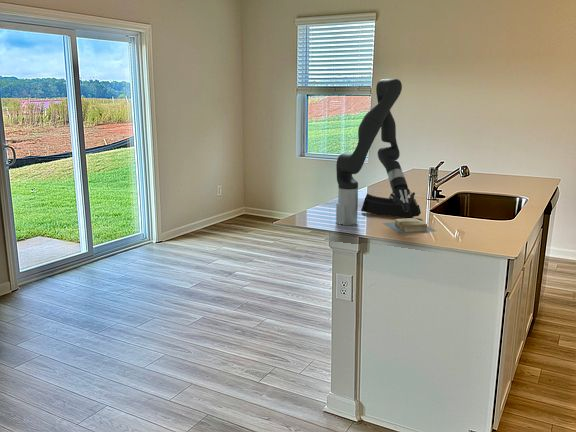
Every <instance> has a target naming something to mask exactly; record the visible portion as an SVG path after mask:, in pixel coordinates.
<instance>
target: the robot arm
mask: <svg viewBox="0 0 576 432" xmlns="http://www.w3.org/2000/svg"><path fill="white" fill-rule="evenodd" d="M375 87H376V89H375V90H376V91H375V92H376V98H377V99H376V100H377V104H376V105H375V106H373V107H372V108H371V109H370V110H369V111H367V113H366V114H365V115H364V116H363V118H362V120H361V122H360V123H359V126H358V131H357V132H358V133H357V136H358V138H357V139H358V141H357V145H356V146H355V149H354V151H353V153H345V152H344V153H341V154H339V155H338V157H337V159H336V164H335V167H336V168H335V169H336V171H335V172H336V181H337V186H338V193H337V194H338V195H337V196H338V197H337V198H338V199H337V201H338V202H337V203H336V209H335V211H336V212H335V215H336V216H335V223H336V224H338V223H340V224H339V225H341V224H343V225H342V226H355V225H357V224H358V206H359V205H358V201H359V198H358V197H359V183H358V180H356V179H355V178H354V177H353V175H357V174H358V173H359V172H360V171H361V170H362V169H363V166H364V164H365V161H366V158H367V156H368V154H369V151H370V149H371V147H372V145H373V142H374V140H375V138H376V136H377V135H378V134H379V132H381V133H380V138H381V141H382V142H383V143H387V144H390V146H383V147H380V148H378V151H377V158H378V160H379V161H380V163H381V164H382V166H383V167H384V168H385V171H386V174H387V178H388V183H389V186H390V189H391V191H392V192H391V193H390V195H389V196H388V198H390V199H391V200H393V201H394V202H395V203H396V204H398V205H399V204H400V205H402V208H403V210H404V211H405V212H408V211H409V210H410V207H409V204H410V203H411V201H412V199H413V197H414V198H415V195H416V192H411V190H410V189H409V186H408V182H407V180H406V176H405V174H404V172H403V171H402V170H403V169H402V167H401V165H400V162H399V161H398V159H399V158H400V154H401V153H400V149H399V145H398V142H397V138H396V137H397V132H396V131H397V130H396V129H397V127H396V126H397V125H396V121H395V119H394V116H393V114H392V112H391V109H392V108H393V106H394V104H395V103H396V102H397V100H398V99H399V97H400V95H401V93H402V91H403V90H402V89H403V85H402V82H401V80H400V79H398V78H383V79H379V81H378V82H377V83H376V86H375ZM408 198H410V199H409V200H408Z"/></svg>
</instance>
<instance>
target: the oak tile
mask: <svg viewBox="0 0 576 432" xmlns="http://www.w3.org/2000/svg"><path fill="white" fill-rule="evenodd" d="M394 222H395V226H397V227H398V228H400V229H402V230H404V231H405V232H413V231H427V226H428V223H426V222H424V221H421V220H420V219H417V218H416V217H413V218H411V217H407V218H396V219H395V220H394Z"/></svg>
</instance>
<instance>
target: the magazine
mask: <svg viewBox="0 0 576 432" xmlns="http://www.w3.org/2000/svg"><path fill="white" fill-rule="evenodd" d="M409 199H410V197H408V200H409ZM409 207H410V210H409V211H408V212H405V211H404V210H403V208H402V205H400V204H399V205H398V204H396V203H395V202H394V201H393V200H391V199H390V198H389V197H381V196H375V195H372V194H369V193H366V195H365V198H364V200H363V202H362V207H361V211H360V212H364V213H369V214H371V215H372V214H373V215H375V214H376V215H377V216H385V217H386V216H387V217H388V216H389V217H397V218H416V217H419V216H420V215H421V214H422V212H421V211H422V210H421V207H420V205H419V203H418V202H417V199H415V196H414V197H413V199H412V201H411V203H410V204H409ZM376 215H375V216H376Z"/></svg>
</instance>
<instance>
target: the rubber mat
mask: <svg viewBox="0 0 576 432" xmlns="http://www.w3.org/2000/svg"><path fill="white" fill-rule="evenodd" d="M382 224H383V225H384V226H386V227H388V228H389V229H391V230H392V231H395V232H396V233H397V234H413V233H415V234H416V233H428V232H437V230H436V229H434V228H431V227H430V226H428V225H427V231H413V232H405V231H404V230H402V229H400V228H398V227H397V226H395V221H393V222H392V221H391V222H382Z"/></svg>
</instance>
